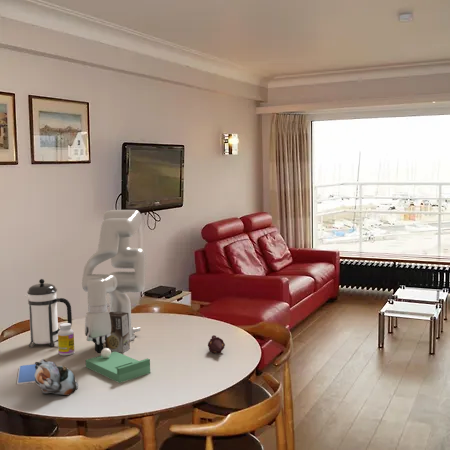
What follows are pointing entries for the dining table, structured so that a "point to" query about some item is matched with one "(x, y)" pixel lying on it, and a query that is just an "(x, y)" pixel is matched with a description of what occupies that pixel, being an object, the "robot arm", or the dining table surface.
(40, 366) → the lucky cat figurine
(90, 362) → the green
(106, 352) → the ball
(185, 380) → the dining table surface
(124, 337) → the coffee box
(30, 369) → the tablet computer
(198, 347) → the dining table surface
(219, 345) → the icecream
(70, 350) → the supplement bottle
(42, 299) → the coffee press
